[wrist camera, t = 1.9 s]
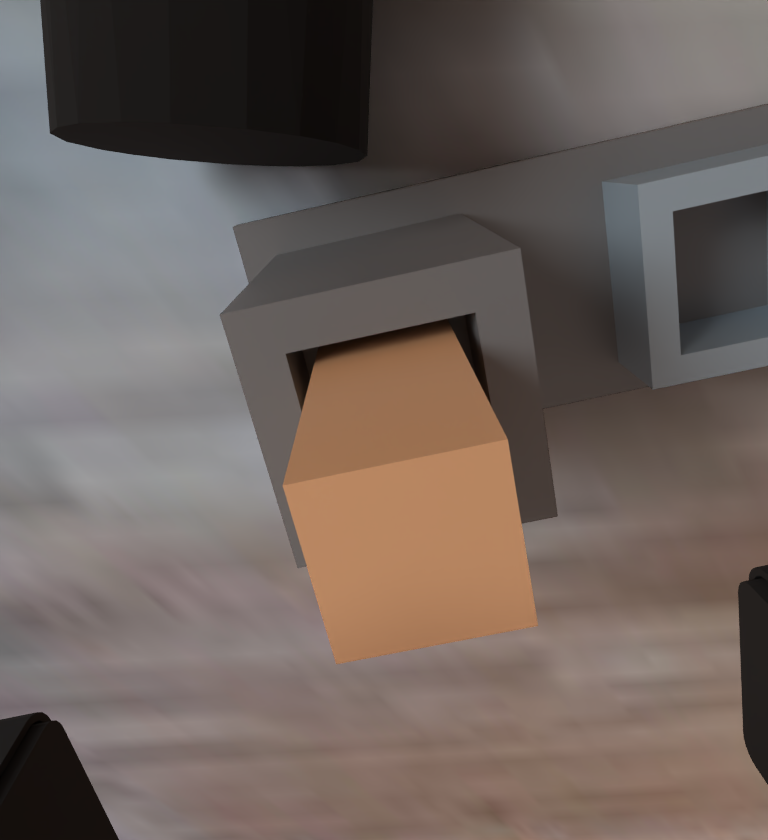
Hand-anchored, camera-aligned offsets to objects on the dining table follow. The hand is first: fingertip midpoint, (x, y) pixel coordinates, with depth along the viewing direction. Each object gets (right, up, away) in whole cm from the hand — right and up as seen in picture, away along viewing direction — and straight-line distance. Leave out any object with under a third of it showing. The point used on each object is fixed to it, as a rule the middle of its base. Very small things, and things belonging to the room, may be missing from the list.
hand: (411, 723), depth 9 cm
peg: (0, +5, +13) cm, 14 cm away
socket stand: (+7, +10, +22) cm, 25 cm away
